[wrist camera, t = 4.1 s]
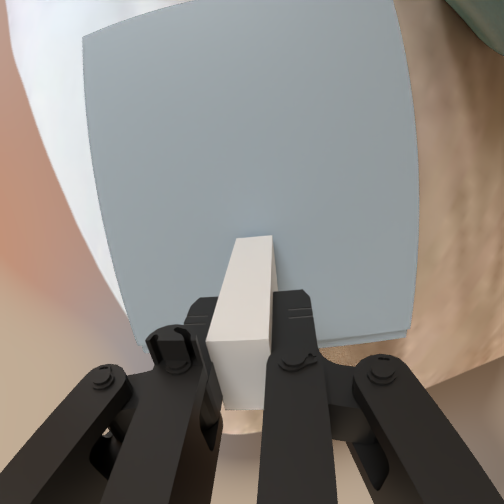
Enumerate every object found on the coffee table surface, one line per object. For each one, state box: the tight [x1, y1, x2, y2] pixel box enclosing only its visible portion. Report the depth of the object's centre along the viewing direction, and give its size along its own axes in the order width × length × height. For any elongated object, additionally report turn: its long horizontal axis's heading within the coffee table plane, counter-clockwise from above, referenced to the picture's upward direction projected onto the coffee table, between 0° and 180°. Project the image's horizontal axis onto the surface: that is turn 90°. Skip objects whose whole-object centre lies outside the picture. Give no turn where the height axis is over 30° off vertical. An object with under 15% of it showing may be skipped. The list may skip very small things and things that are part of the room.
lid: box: [83, 0, 419, 353], centre depth 14 cm, size 17×14×2 cm
